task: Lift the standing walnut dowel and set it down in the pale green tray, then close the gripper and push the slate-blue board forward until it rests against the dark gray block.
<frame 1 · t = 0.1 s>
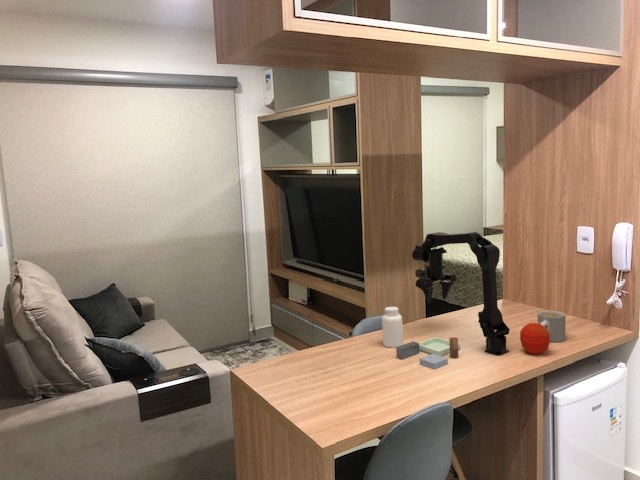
hand: (436, 300, 218), 15 cm above the table, fingers open, 9 cm apart
dowel: (454, 357, 194), on the table
apple: (534, 352, 194), on the table
board: (433, 365, 189), on the table
coffee mug: (548, 340, 207), on the table
tray: (437, 349, 203), on the table
pill bottle: (393, 345, 211), on the table
dark gray block: (408, 355, 198), on the table
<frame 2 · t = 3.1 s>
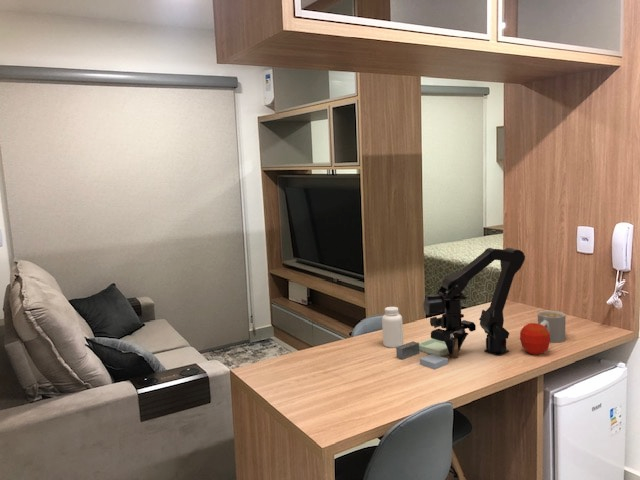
hand: (454, 353, 194), 2 cm above the table, fingers closed on dowel, 3 cm apart
dowel: (454, 357, 194), on the table, touching gripper
everything else where it was.
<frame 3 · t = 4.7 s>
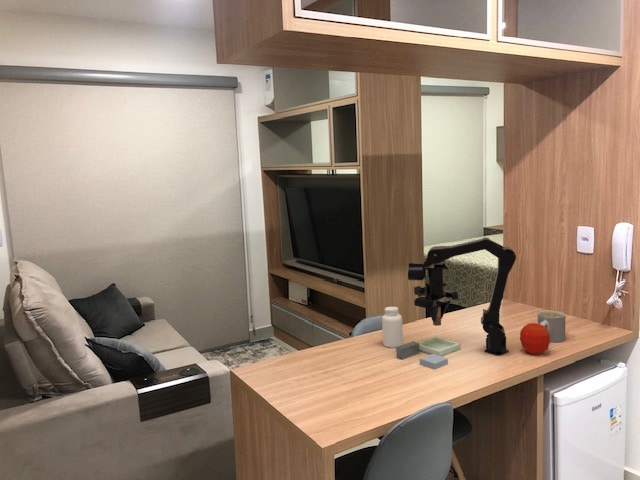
hand: (437, 320, 201), 11 cm above the table, fingers closed on dowel, 3 cm apart
dowel: (437, 324, 201), point 10 cm above the table, touching gripper
everything else where it was.
when the fingers open (4 cm above the table, at t = 6.3 s): dowel drops 1 cm, resting on tray.
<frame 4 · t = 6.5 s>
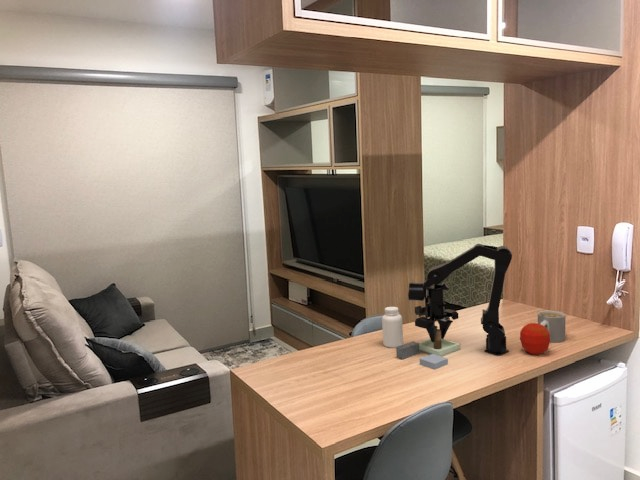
hand: (437, 340, 203), 4 cm above the table, fingers open, 5 cm apart
dowel: (437, 347, 203), point 1 cm above the table, touching tray
everything else where it was.
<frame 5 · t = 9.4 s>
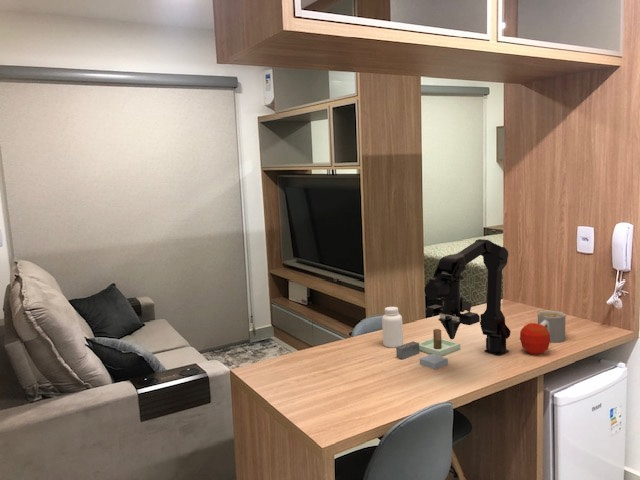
hand: (452, 339, 180), 11 cm above the table, fingers closed
nothing on the table moved.
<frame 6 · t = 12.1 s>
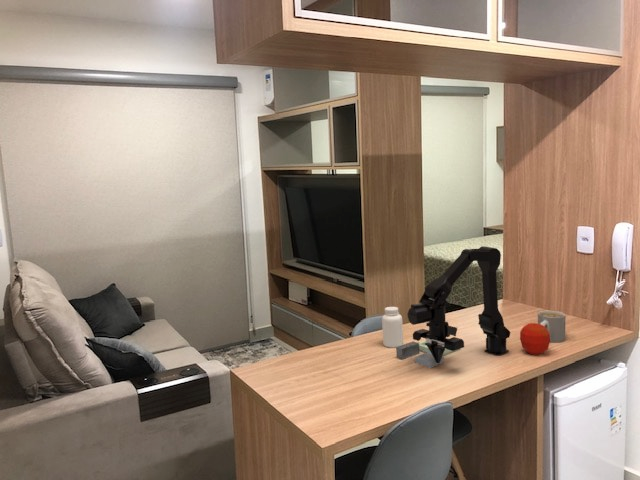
hand: (438, 362, 187), 1 cm above the table, fingers closed
board: (429, 363, 190), on the table, touching gripper
everything else where it was.
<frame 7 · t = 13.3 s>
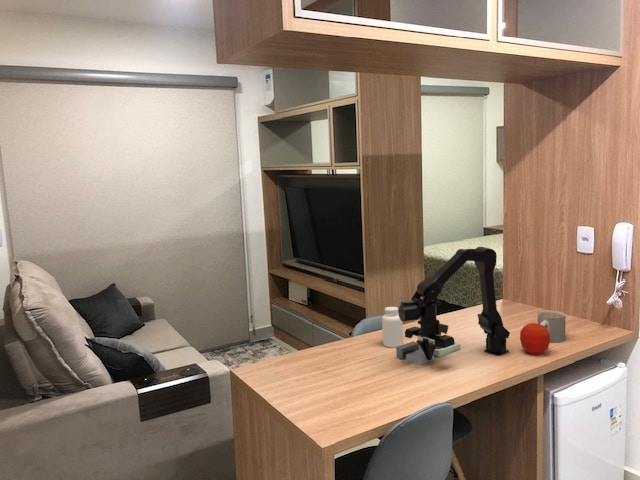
hand: (429, 359, 190), 1 cm above the table, fingers closed
board: (419, 361, 193), on the table
everything else where it was.
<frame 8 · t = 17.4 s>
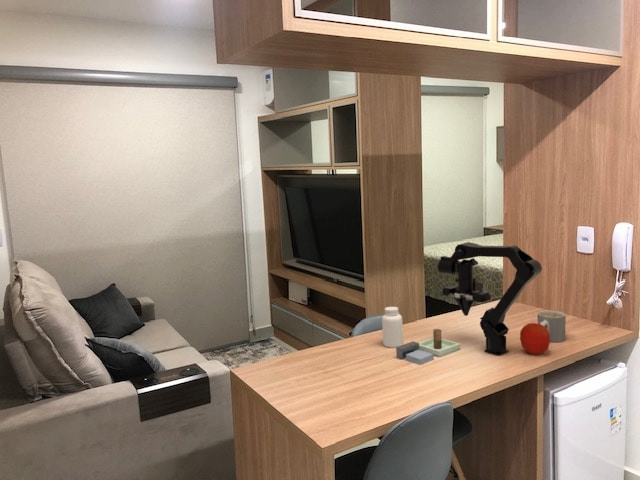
hand: (466, 315, 204), 12 cm above the table, fingers closed
nothing on the table moved.
at the end: board 0.9 cm from the target spot, on the table; dowel inside the target area on the tray (0.0 cm from its centre), point 0.6 cm above the tray's base; the gripper is holding nothing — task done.
